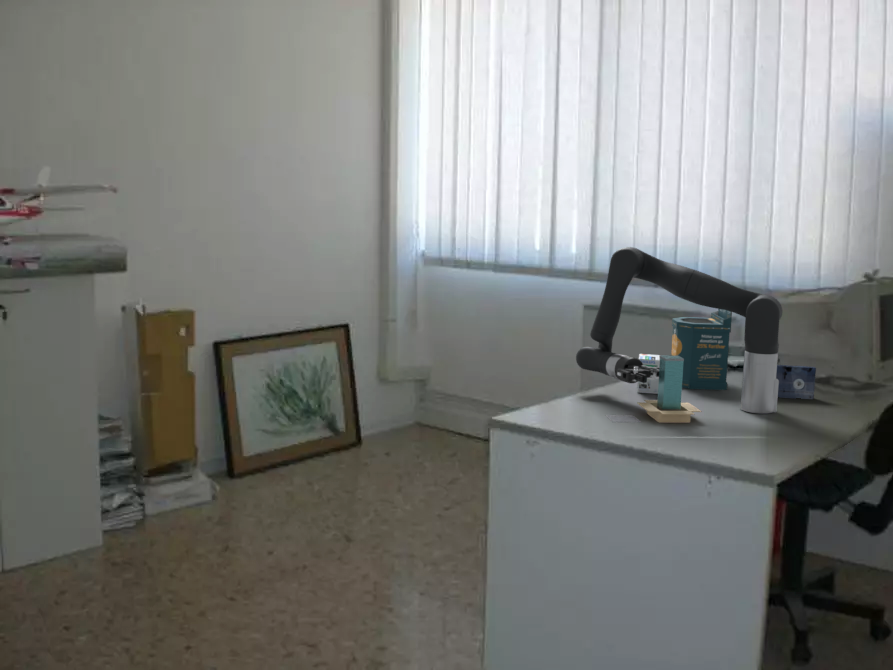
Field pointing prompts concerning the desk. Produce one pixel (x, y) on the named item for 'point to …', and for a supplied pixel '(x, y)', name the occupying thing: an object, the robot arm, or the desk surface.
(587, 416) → the desk surface
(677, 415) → the carton
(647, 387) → the light bulb box
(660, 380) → the tall box
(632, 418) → the mat
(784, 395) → the vhs cassette tape
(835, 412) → the desk surface
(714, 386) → the donation box
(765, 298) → the robot arm
